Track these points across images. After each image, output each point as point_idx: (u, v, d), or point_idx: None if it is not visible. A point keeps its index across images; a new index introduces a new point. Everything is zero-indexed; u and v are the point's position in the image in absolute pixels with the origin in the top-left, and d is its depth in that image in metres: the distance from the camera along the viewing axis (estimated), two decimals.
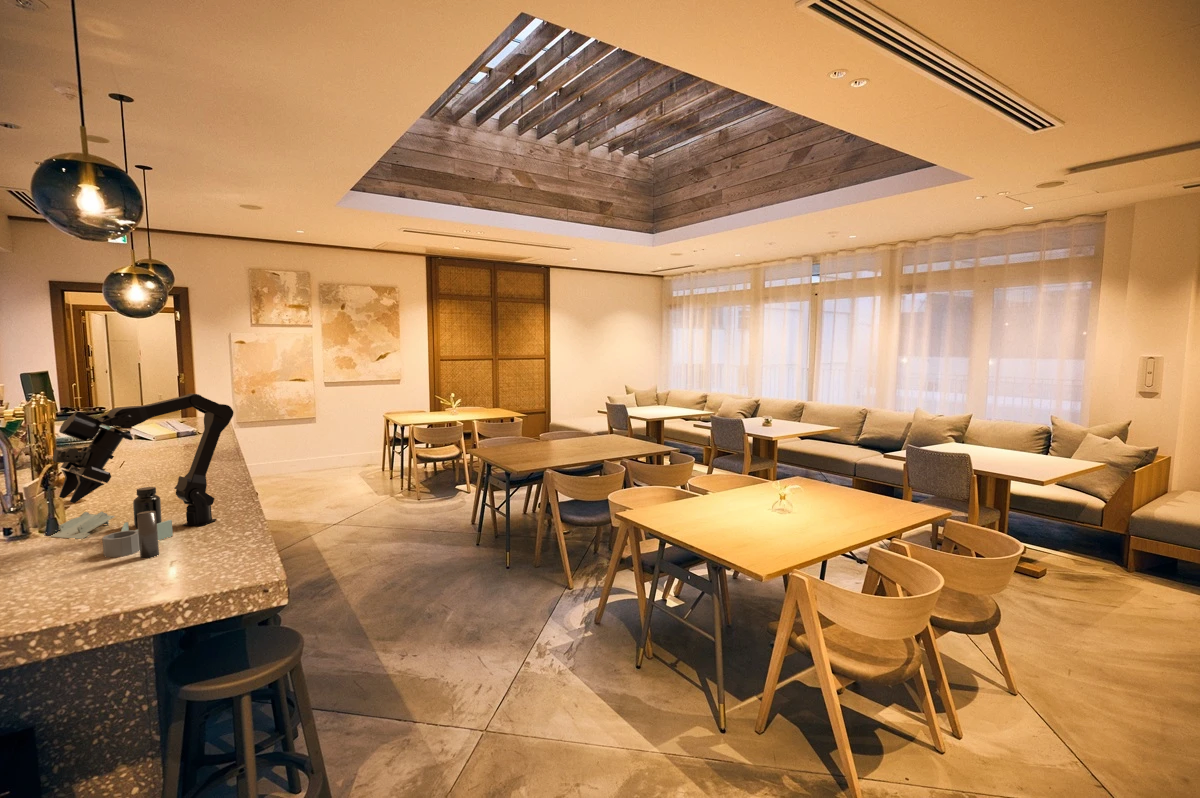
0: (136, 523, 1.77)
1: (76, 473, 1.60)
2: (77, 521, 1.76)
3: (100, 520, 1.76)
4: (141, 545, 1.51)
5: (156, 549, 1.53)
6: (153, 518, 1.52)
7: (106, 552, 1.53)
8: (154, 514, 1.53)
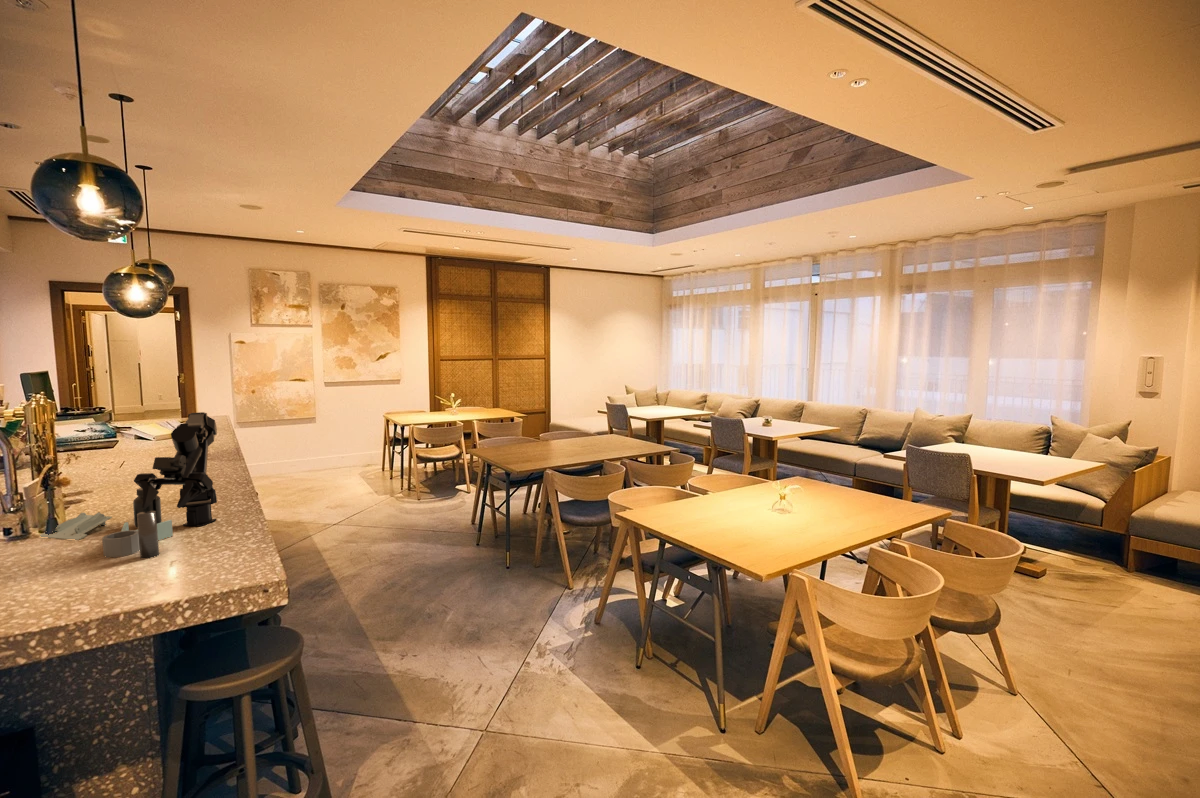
0: (136, 523, 1.77)
1: (152, 486, 1.62)
2: (74, 522, 1.75)
3: (97, 521, 1.75)
4: (141, 545, 1.51)
5: (156, 549, 1.53)
6: (153, 518, 1.52)
7: (106, 552, 1.53)
8: (154, 514, 1.53)
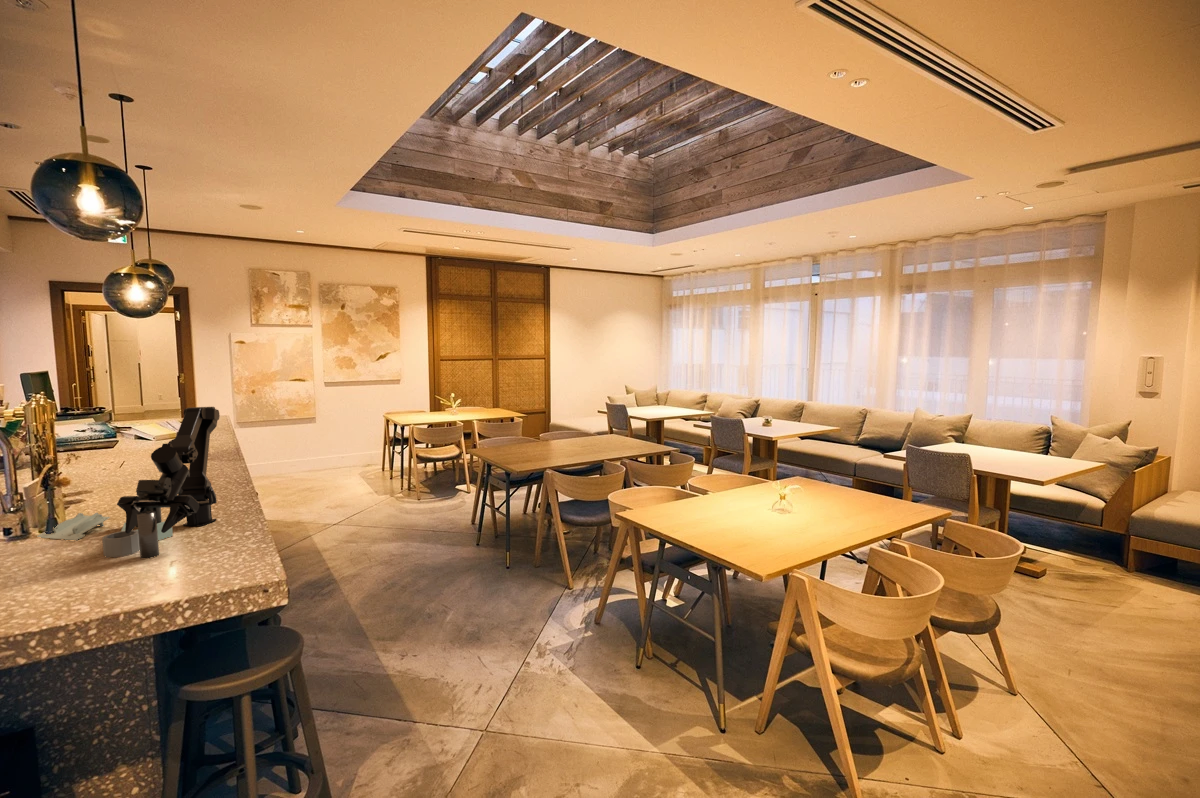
0: None
1: (136, 509, 1.56)
2: (71, 522, 1.75)
3: (95, 521, 1.75)
4: (141, 545, 1.51)
5: (156, 549, 1.53)
6: (153, 518, 1.52)
7: (106, 552, 1.53)
8: (154, 514, 1.53)
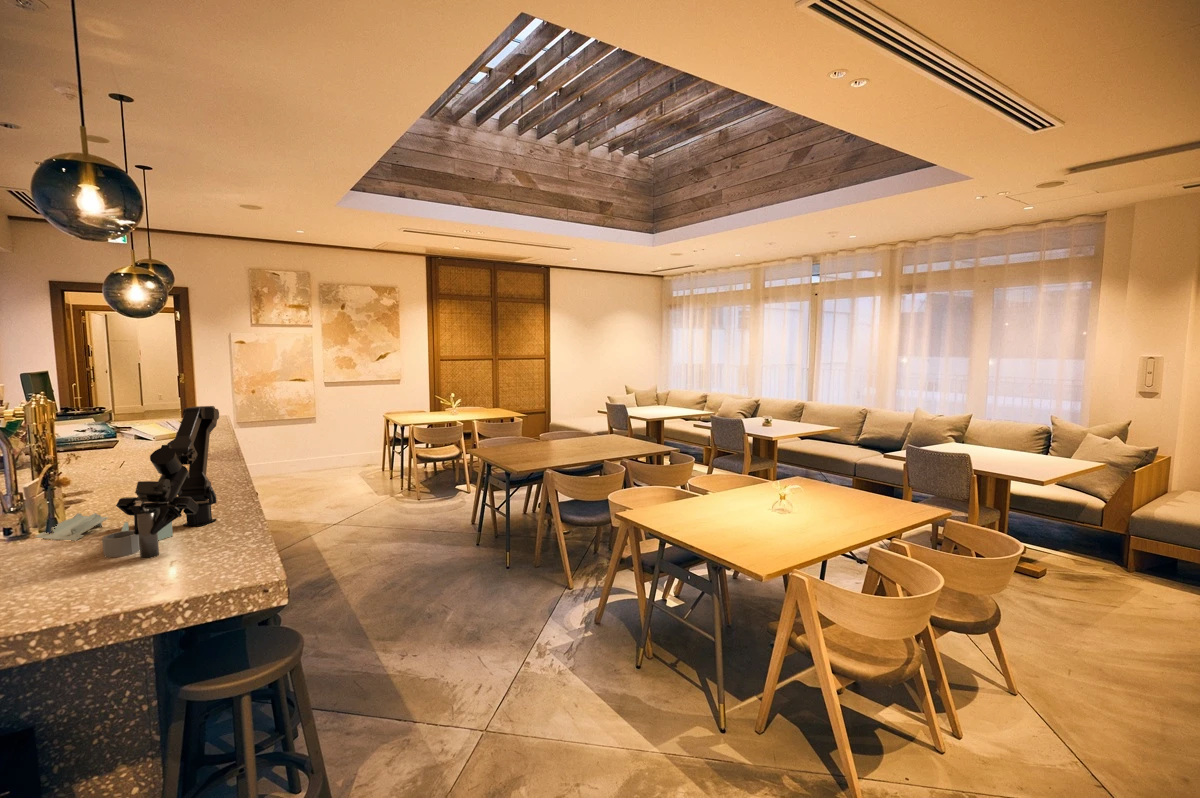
0: None
1: (144, 510, 1.56)
2: (70, 523, 1.74)
3: (93, 522, 1.74)
4: (141, 545, 1.51)
5: (156, 549, 1.53)
6: (153, 518, 1.52)
7: (106, 552, 1.53)
8: (154, 514, 1.53)
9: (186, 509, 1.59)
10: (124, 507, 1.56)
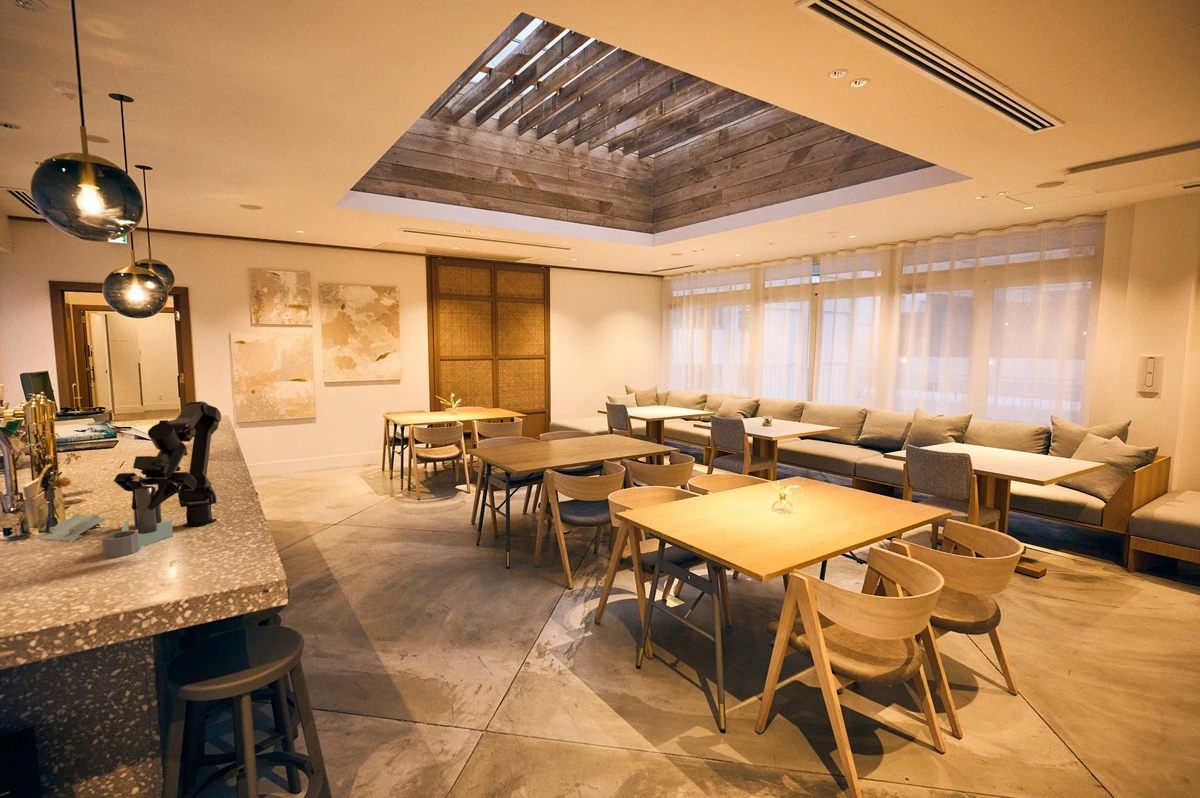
0: (136, 523, 1.77)
1: (142, 485, 1.55)
2: (68, 523, 1.74)
3: (92, 522, 1.74)
4: (139, 520, 1.51)
5: (154, 524, 1.53)
6: (151, 494, 1.52)
7: (106, 552, 1.53)
8: (152, 489, 1.52)
9: (184, 485, 1.59)
10: (122, 482, 1.55)
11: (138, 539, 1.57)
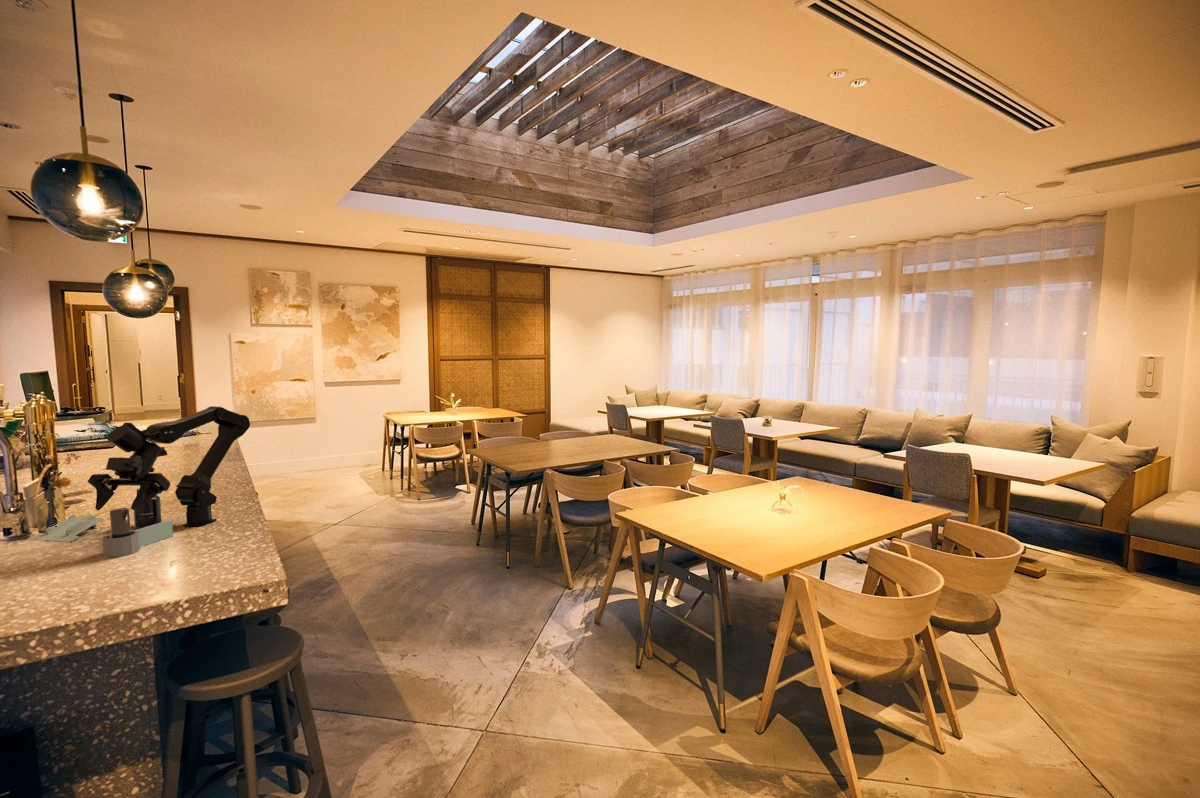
0: (136, 523, 1.77)
1: (107, 486, 1.58)
2: (64, 524, 1.73)
3: (88, 523, 1.73)
4: None
5: None
6: (126, 515, 1.55)
7: (106, 552, 1.53)
8: (127, 511, 1.56)
9: None
10: None
11: (138, 539, 1.57)
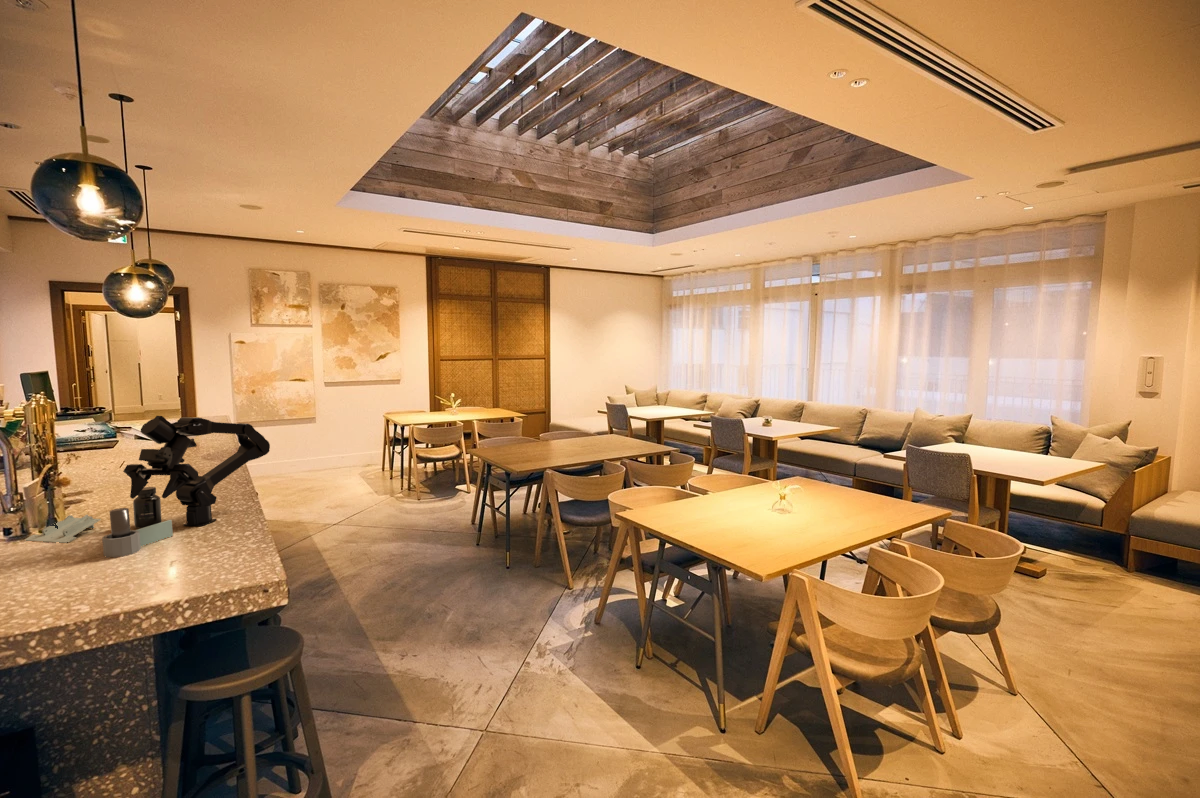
0: (136, 523, 1.77)
1: (141, 476, 1.68)
2: (61, 525, 1.72)
3: (85, 523, 1.72)
4: None
5: None
6: (126, 515, 1.55)
7: (106, 552, 1.53)
8: (127, 511, 1.56)
9: None
10: None
11: (138, 539, 1.57)
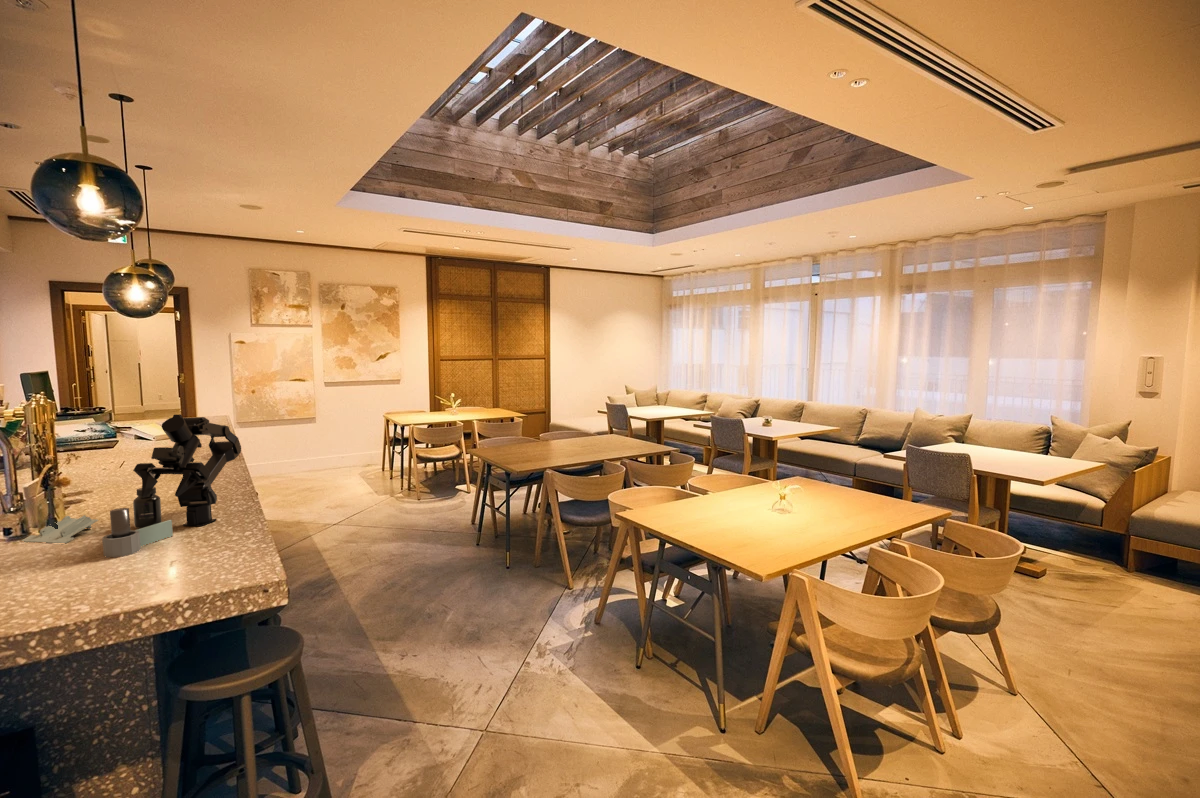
0: (136, 523, 1.77)
1: (151, 475, 1.67)
2: (58, 525, 1.72)
3: (83, 524, 1.72)
4: None
5: None
6: (126, 515, 1.55)
7: (106, 552, 1.53)
8: (127, 511, 1.56)
9: None
10: None
11: (138, 539, 1.57)
